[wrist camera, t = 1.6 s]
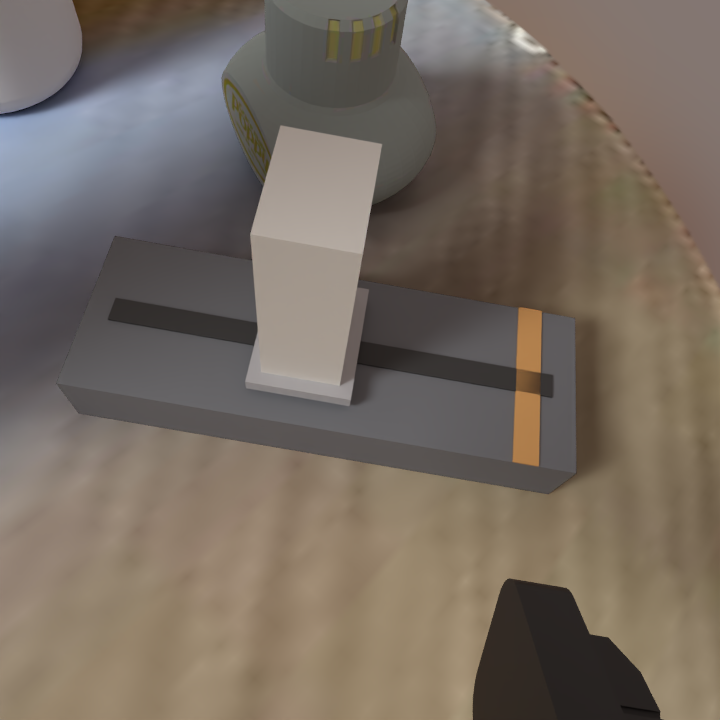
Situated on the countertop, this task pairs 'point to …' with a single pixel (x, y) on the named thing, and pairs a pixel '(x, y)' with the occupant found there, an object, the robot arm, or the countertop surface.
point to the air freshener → (332, 85)
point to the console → (371, 382)
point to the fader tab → (311, 265)
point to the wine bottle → (36, 50)
